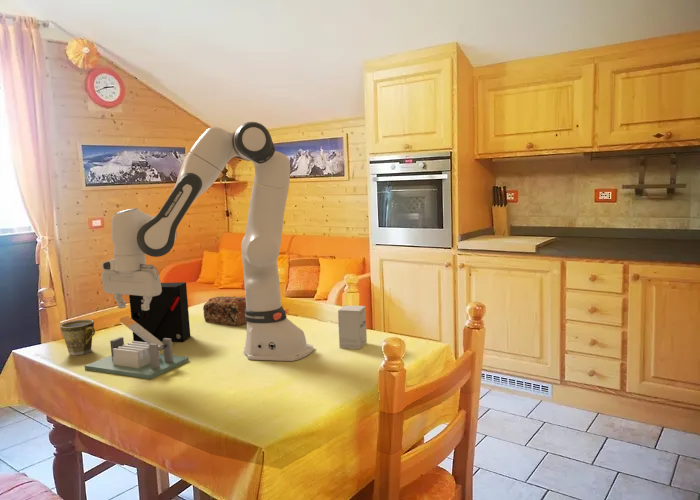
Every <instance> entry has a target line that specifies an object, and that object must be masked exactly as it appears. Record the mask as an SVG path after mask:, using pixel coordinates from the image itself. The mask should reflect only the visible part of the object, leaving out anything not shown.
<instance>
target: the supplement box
mask: <svg viewBox="0 0 700 500" xmlns="http://www.w3.org/2000/svg"><path fill="white" fill-rule="evenodd" d="M337 315H338V316H337V317H338V319H337V320H338V321H337V322H338V344H339V349H346V350H347V349H349V350H361V349H362V348H363V347H364V346H365V344H367V343H368V341H367V340H368V339H367V312H366V306H365V305H344V306H343V307H341V308H339V310H338V311H337Z"/></svg>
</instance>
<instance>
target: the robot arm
mask: <svg viewBox="0 0 700 500" xmlns="http://www.w3.org/2000/svg"><path fill="white" fill-rule="evenodd" d="M233 158H235V159H236V158H237V159H241V161H242V160H243V161H247V162H252V164H253V165H254V178H253V183H252V189H251V194H250V199H249V204H248V211H247V212H248V213H247V220H246V226H245V227H246V228H245V234H244V236H243V238H242V241H241V243H240V245H241V246H240V247H241V249H240V250H241V260H242V270H243V271H242V272H243V282H244V293H245V298H246V309H245V320H246V323H245V324H246V335H245V336H246V337H245V338H246V339H245V346H244V350H243V353H244V355H245V356H246V357H247V360H252V361H253V360H254V361H256V360H257V361H281V362H282V361H283V362H284V361H285V362H286V361H287V362H292V361H293V362H294V361H297V360H300V359H303V358H305V357H307V356H309V355H310V354H311V353H313V351H314V349H315V348H314V345H313V344H309V343H307V339H306V338H307V337H306V335H305V332H304V331H303V329H301V328H300V327H299V326H297V325H296V324H295V323H293V322H292V321H291V320H290V319H288V318H287V317H288V316H287V314H289V309H284V306H282V301H281V300H282V298H281V283H280V277H279V275H280V274H279V269H278V259H279V256H280V252H281V244H282V239H283V237H282V236H283V227H284V216H285V211H286V205H287V199H288V194H289V188H290V178H291V161H290V159H289V157H288V156H287V155H286V154H284V153H282V152H280V151H278V150H276V148H275V145H274V142H273V139H272V136H271V133H270V131H269V130H268V129H267V127H265V126H264V125H263V124H262V123H259V122H257V121H248V122H245V123H242V124H241V125H240V126H239V127H238V128H237V129H236V130H234V131H233V132H230V131H227V130H225V129H223V128H221V127H217V126H212V127H209V128H207V129H206V130H205V131H204V132H203V133H202V134H201V135H200V136H199V138H198V139H197V140H196V141H195V143H194V144H193V145H192V147H191V148H190V150H189V151H188V153H187V154H186V156H185V158H184V160H183V162H182V164H181V167H180V170H179V172H178V175H177V179H176V183H175V184H174V188H173V189H172V192H171V193H170V194H169V196H168V198H167V199H166V200H165V203H164V204H163V206H162V207H161V209H160V210H159V211H158V213H157V214H156V215H155V216H153V215H150V214H148V213H146V212H144V211H142V210H141V209H139V208H129V209H122V210H119V211H117V212H116V213H115V214H114V215H112V218H111V231H110V232H111V241H112V245H113V253H112V254H113V258H110V259H109V260H106V261H103V262H101V264H100V267H101V270H103V271H102V272H101V282H102V290H103V291H104V293H106V294H113V298H114V299H115V302H116V303H117V308H118V309H125V308H126V307H127V304H126V301H124V299H123V296H124V295H125V296H126V295H128V296H129V295H138V296H143V299H144V300H145V301H144V304H142V305H141V307H142V308H141V309H142V310H144V311H147V310H149V309H150V308H149V304H150V302H151V299H152V297H154V296H157V295H160V294H161V292H162V288H161V283H162V282H161V277H160V274H159V270H158V268H157V267H156V266H155V265H154V264H147V260H146V259H147V258H146V255H147V256H150V257H154V258H155V257H156V258H158V257H163V256H165V255H168V253H169V252H170V251H171V250H172V249H173V247H174V245H175V242H176V240H177V237H178V236H177V235H178V234H177V229H178V227H179V225H180V223H181V221H182V220H183V218H184V216H185V215H186V213H188V210H189V208H190V207H191V205H192V204H194V202H195V201H196V200H197V199H198V198H199V197H200V196H201V195H202V194H204V193H205V192H206V191H207V190H208V189H209V188H211V187H212V186H213V185H214V183H215V182H216V180H217V179H218V178H219V177H220V175H221V174H222V172H223V170H224V169H225V167H226V165H227V164H228V163H229V162H230V160H232V159H233Z"/></svg>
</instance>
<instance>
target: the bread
mask: <svg viewBox="0 0 700 500" xmlns="http://www.w3.org/2000/svg"><path fill="white" fill-rule="evenodd" d="M202 308H203V309H202V310H203V317H204V322H207V323H212V324H219V325H227V326H233V327H234V326H242V325H246V324H247V323H246V320H245V309H246V298H245V297H244V296H224V295H223V296H216V297H211V298H209V299H208V300H207V301H206V302H205V303H204V304H203V307H202Z"/></svg>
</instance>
